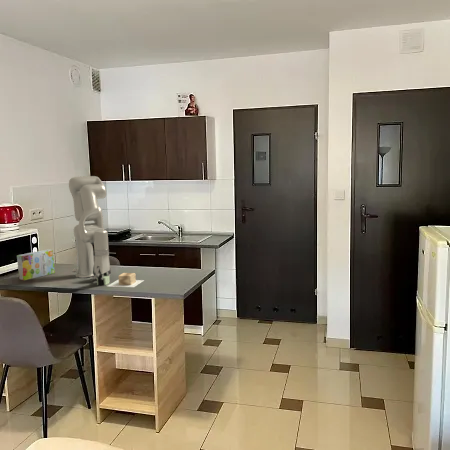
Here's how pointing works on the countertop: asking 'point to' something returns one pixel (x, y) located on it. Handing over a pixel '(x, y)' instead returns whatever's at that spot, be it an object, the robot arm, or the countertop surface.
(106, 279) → the sage cube
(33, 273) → the snack box
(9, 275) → the countertop surface
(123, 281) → the oak block
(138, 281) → the building board
